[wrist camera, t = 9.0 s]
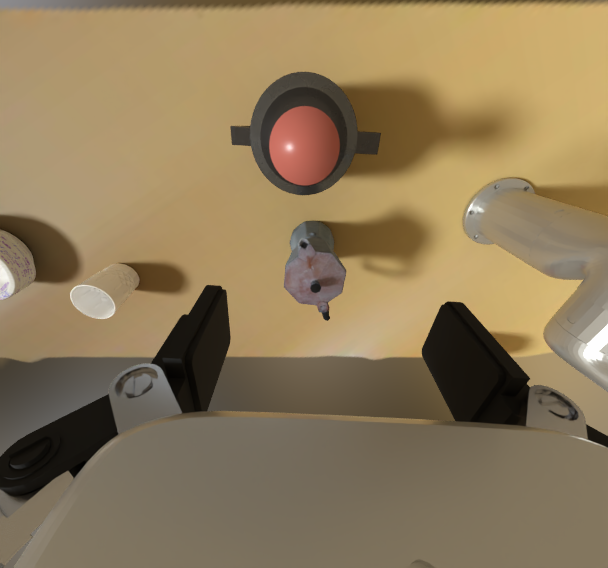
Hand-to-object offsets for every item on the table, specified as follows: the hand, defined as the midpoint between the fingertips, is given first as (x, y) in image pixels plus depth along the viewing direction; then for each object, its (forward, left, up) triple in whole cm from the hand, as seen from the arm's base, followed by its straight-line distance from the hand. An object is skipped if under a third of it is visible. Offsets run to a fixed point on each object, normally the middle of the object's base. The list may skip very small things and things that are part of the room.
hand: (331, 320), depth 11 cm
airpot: (+1, -6, -41) cm, 42 cm away
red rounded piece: (+1, -6, -25) cm, 26 cm away
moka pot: (-2, +13, -42) cm, 44 cm away
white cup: (+40, +23, -42) cm, 62 cm away
